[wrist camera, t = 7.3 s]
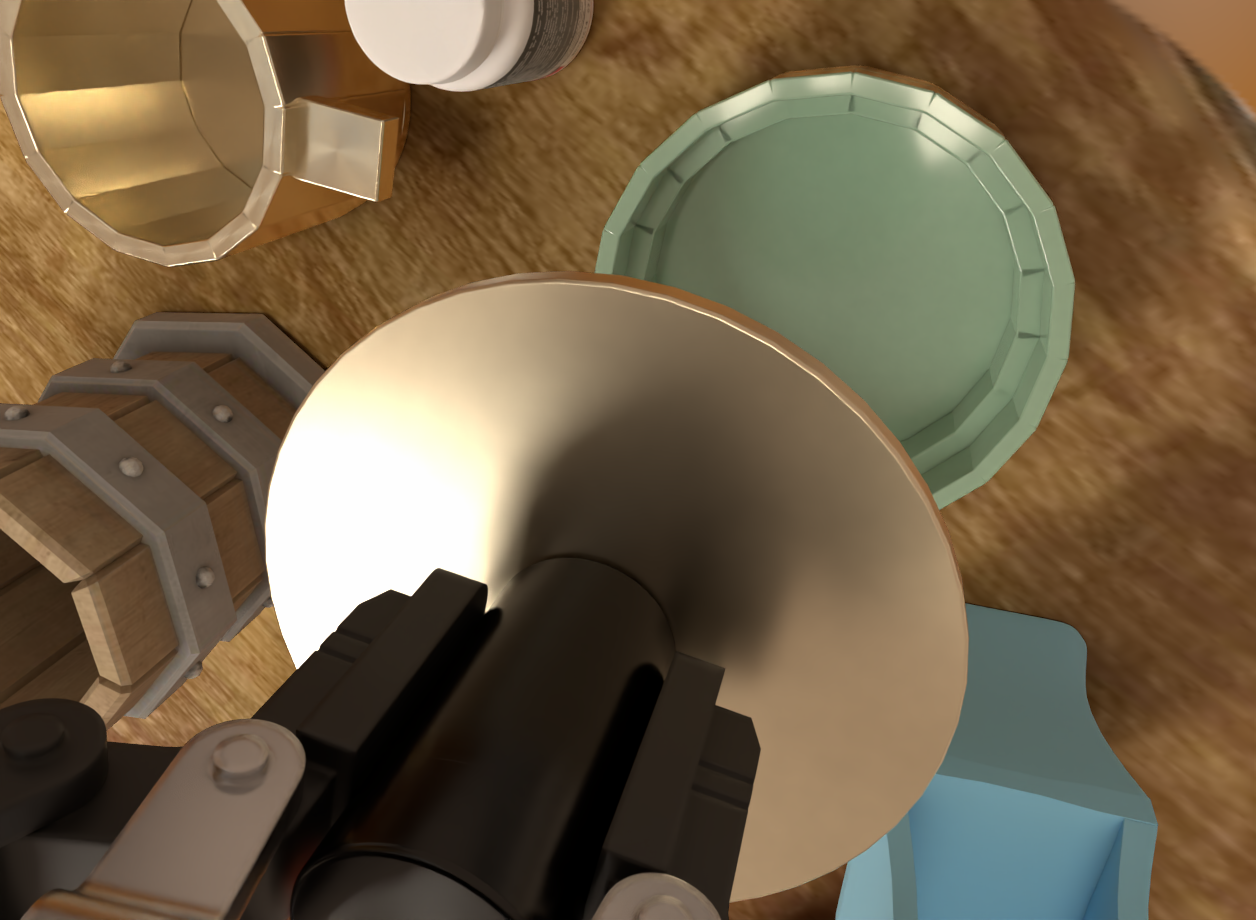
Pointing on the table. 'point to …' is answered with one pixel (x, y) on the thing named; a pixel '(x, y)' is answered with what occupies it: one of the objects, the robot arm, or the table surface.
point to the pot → (199, 118)
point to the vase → (1016, 799)
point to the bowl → (869, 252)
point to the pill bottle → (470, 39)
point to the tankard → (141, 509)
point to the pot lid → (611, 586)
